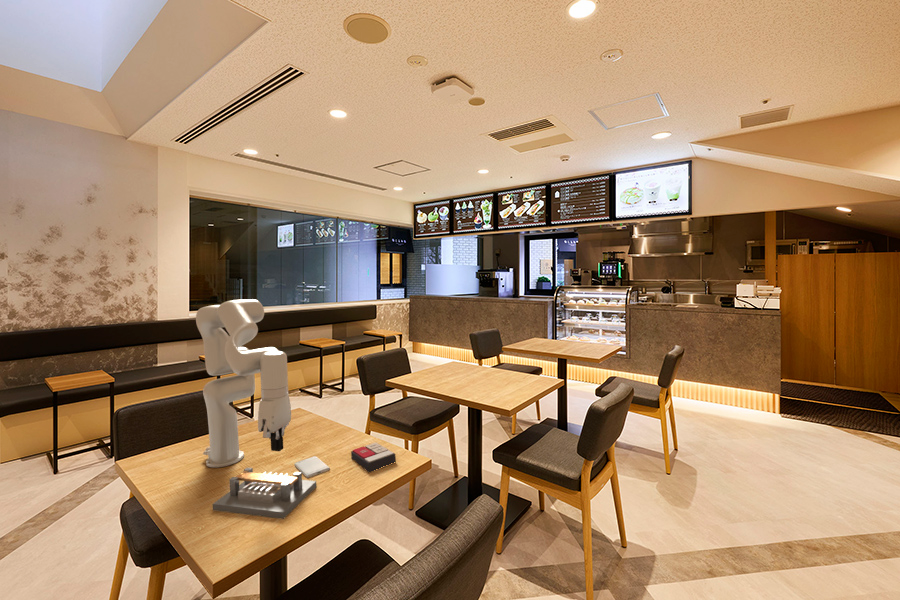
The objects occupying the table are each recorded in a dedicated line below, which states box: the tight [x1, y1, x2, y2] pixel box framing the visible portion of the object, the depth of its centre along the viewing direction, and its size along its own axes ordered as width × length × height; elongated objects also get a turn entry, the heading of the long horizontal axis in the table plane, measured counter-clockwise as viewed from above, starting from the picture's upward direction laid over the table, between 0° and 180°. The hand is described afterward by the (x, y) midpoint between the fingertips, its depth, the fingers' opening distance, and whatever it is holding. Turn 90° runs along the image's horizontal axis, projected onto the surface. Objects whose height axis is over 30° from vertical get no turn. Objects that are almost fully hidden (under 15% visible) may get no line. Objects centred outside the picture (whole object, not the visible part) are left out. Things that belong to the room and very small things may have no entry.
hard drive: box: [293, 455, 331, 479], centre depth 139 cm, size 2×8×12 cm
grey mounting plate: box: [212, 479, 318, 520], centre depth 120 cm, size 24×17×2 cm
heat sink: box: [228, 466, 303, 503], centre depth 120 cm, size 20×10×5 cm, turn 77°
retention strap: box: [235, 470, 298, 486], centre depth 120 cm, size 20×4×2 cm, turn 77°
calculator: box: [350, 442, 397, 473], centre depth 144 cm, size 11×4×15 cm
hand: (277, 449), depth 119 cm, fingers closed
